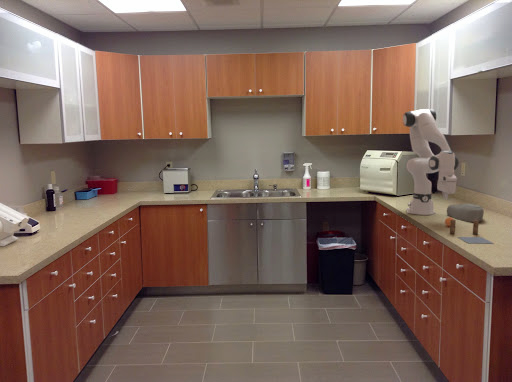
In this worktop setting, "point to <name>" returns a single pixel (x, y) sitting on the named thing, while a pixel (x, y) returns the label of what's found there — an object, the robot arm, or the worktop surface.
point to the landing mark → (475, 240)
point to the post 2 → (475, 227)
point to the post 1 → (452, 227)
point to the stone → (466, 212)
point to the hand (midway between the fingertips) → (445, 199)
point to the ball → (448, 221)
